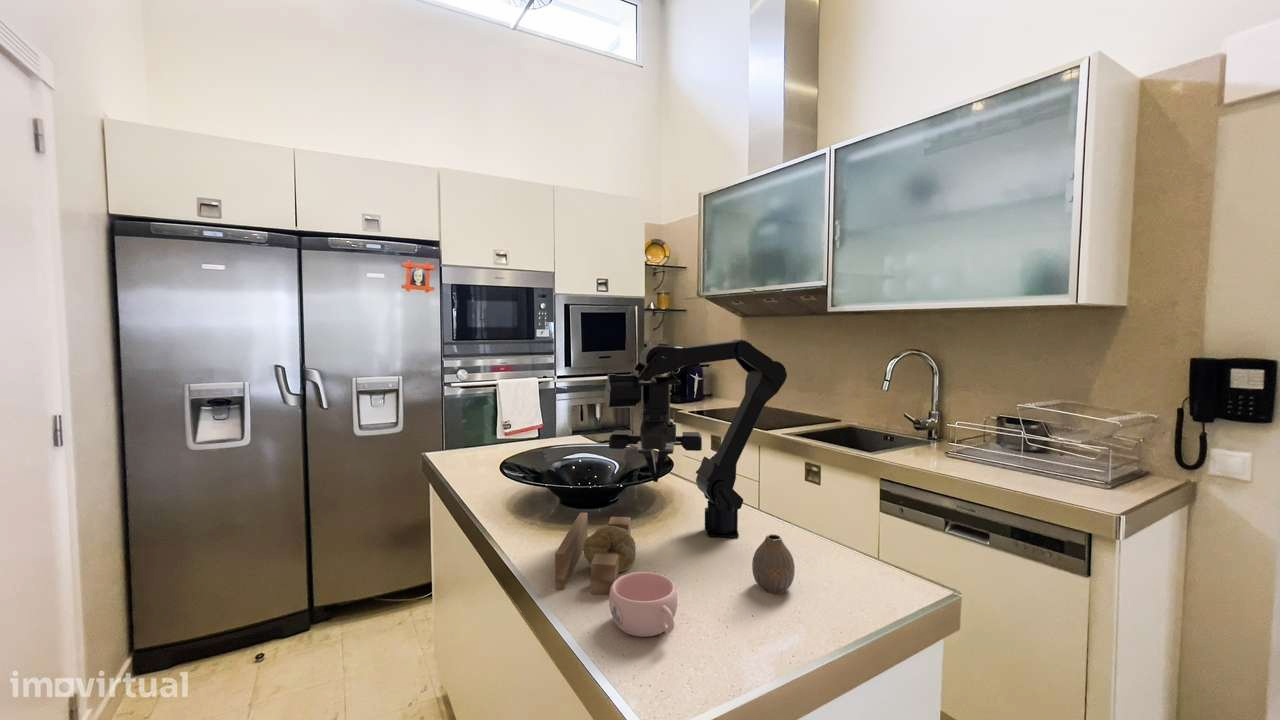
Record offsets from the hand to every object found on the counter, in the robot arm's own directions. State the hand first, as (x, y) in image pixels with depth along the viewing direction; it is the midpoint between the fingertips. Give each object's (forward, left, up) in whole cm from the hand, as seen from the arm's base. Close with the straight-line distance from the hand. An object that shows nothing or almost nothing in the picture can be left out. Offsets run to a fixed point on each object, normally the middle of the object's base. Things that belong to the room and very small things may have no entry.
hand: (655, 481), depth 108 cm
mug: (-1, +33, -12) cm, 35 cm away
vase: (-21, +19, -12) cm, 31 cm away
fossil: (+7, +14, -12) cm, 20 cm away
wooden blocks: (+10, +13, -12) cm, 20 cm away
